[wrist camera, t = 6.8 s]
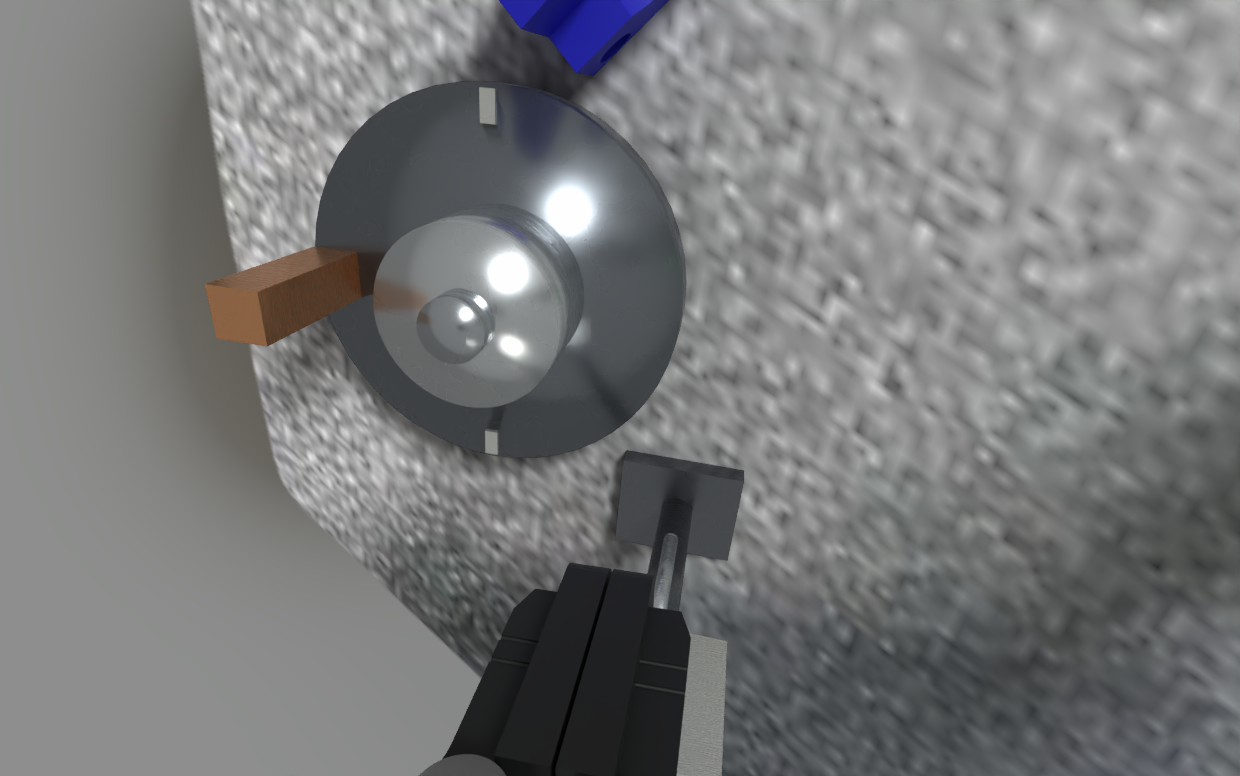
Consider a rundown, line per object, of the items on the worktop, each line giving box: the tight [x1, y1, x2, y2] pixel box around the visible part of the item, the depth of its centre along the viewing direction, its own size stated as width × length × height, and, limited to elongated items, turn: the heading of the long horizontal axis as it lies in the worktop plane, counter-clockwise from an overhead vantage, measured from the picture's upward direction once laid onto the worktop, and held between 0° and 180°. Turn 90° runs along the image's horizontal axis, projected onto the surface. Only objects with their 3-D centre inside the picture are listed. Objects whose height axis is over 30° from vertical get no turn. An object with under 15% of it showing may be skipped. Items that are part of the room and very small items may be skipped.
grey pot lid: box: [205, 81, 686, 458], centre depth 24 cm, size 16×16×8 cm
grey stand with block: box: [615, 450, 744, 776], centre depth 25 cm, size 6×5×16 cm
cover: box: [373, 204, 584, 408], centre depth 24 cm, size 7×7×5 cm
